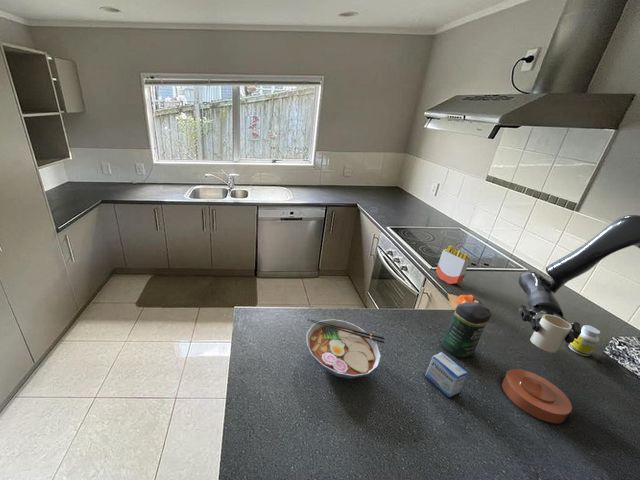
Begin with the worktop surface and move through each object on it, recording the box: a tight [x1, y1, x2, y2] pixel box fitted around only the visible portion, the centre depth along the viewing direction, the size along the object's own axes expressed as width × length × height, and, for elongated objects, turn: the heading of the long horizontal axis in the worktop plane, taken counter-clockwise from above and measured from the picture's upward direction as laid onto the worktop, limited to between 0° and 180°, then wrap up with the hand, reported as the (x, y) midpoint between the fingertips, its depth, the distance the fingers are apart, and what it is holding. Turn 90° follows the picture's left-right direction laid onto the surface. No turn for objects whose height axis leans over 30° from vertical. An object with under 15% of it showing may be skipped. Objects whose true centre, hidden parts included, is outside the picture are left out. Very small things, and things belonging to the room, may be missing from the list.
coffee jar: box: [441, 301, 492, 358], centre depth 95 cm, size 10×8×19 cm
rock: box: [447, 292, 480, 310], centre depth 121 cm, size 12×12×4 cm
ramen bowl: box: [306, 318, 385, 379], centre depth 90 cm, size 25×23×8 cm
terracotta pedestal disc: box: [501, 368, 573, 424], centre depth 81 cm, size 14×14×4 cm
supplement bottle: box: [568, 324, 601, 357], centre depth 98 cm, size 5×5×10 cm
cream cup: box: [529, 314, 572, 354], centre depth 84 cm, size 6×6×9 cm
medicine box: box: [425, 352, 469, 398], centre depth 83 cm, size 8×4×9 cm, turn 23°
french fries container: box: [435, 245, 471, 285], centre depth 136 cm, size 5×11×18 cm, turn 21°
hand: (553, 335), depth 82 cm, fingers closed on cream cup, 6 cm apart
